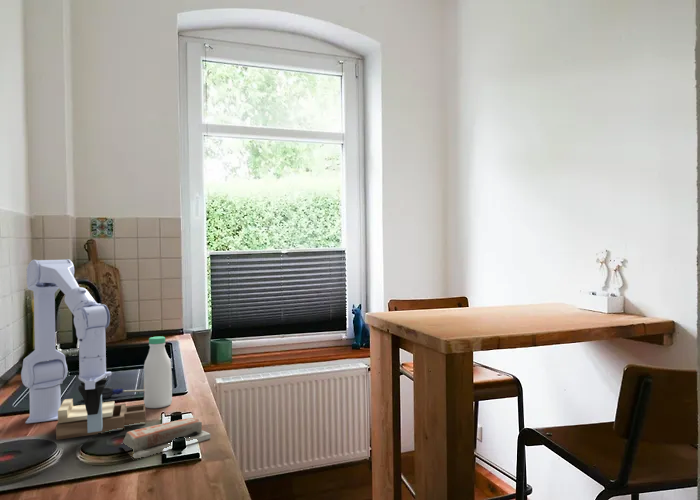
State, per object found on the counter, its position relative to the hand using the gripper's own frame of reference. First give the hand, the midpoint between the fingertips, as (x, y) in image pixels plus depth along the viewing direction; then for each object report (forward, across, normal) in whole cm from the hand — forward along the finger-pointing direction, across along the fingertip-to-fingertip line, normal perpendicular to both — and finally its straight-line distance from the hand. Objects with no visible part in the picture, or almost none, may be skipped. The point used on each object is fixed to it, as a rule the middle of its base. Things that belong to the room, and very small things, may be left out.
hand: (93, 412), depth 120 cm
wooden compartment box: (+7, +10, -1) cm, 12 cm away
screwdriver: (+7, +38, -7) cm, 39 cm away
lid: (+3, +10, +2) cm, 11 cm away
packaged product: (+8, -9, -16) cm, 20 cm away
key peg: (+4, 0, 0) cm, 4 cm away
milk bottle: (+7, +23, -15) cm, 28 cm away
